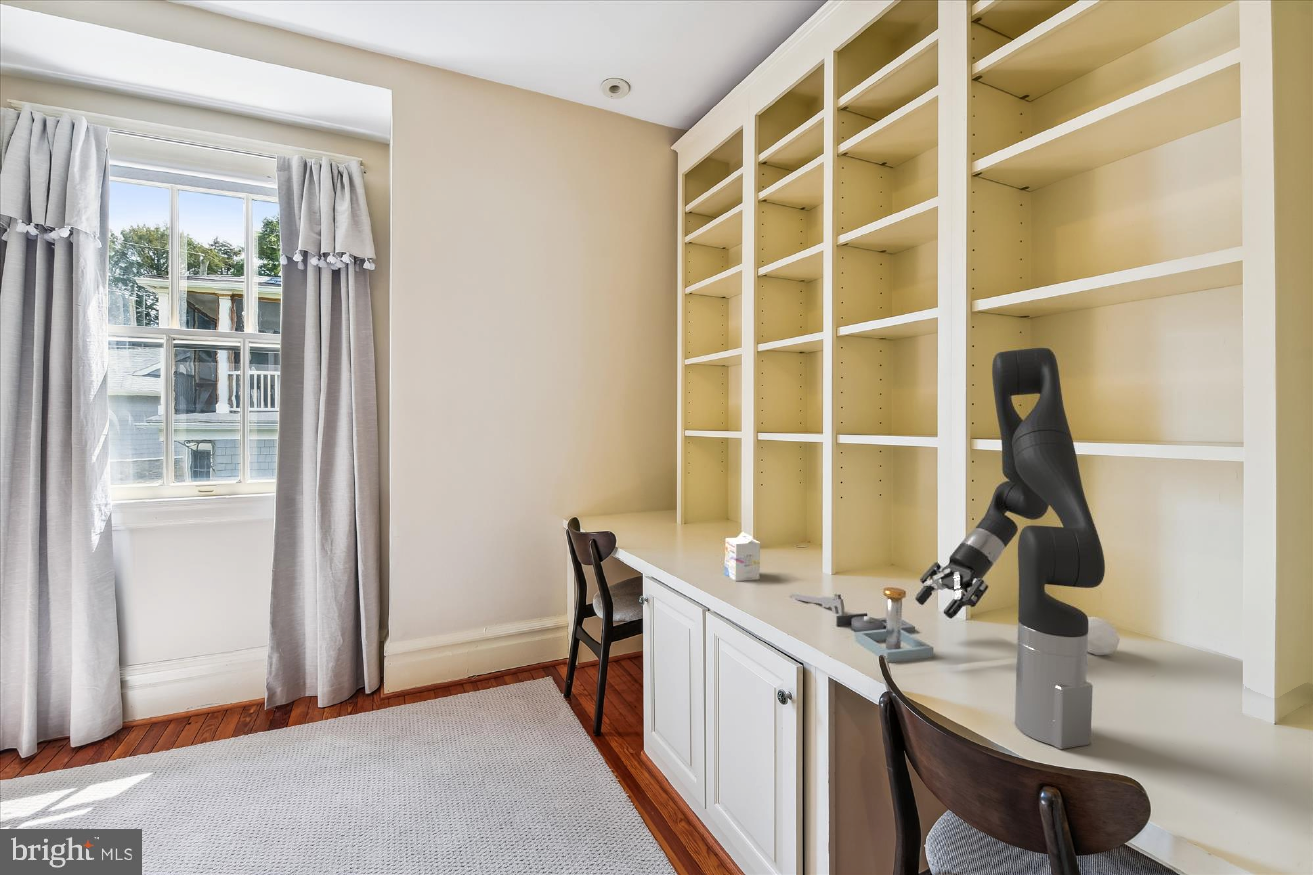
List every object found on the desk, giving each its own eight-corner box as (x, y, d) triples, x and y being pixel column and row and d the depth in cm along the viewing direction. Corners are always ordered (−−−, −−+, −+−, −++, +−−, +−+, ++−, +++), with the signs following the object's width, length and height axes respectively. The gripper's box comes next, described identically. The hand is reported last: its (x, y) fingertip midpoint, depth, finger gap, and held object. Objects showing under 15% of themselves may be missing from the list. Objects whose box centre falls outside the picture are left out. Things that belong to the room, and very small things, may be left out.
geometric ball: (1103, 669, 120) (1110, 648, 116) (1063, 644, 126) (1068, 623, 122) (1123, 648, 123) (1131, 626, 118) (1083, 624, 129) (1089, 602, 124)
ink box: (723, 574, 181) (724, 532, 181) (747, 572, 184) (748, 531, 183) (735, 581, 173) (736, 538, 172) (760, 579, 175) (760, 536, 175)
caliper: (844, 620, 141) (844, 595, 141) (841, 621, 141) (841, 596, 141) (791, 596, 160) (791, 574, 160) (788, 597, 159) (788, 575, 159)
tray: (933, 661, 117) (933, 647, 117) (886, 667, 115) (887, 652, 115) (898, 640, 128) (898, 627, 128) (855, 645, 125) (855, 632, 125)
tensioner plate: (919, 637, 130) (919, 620, 130) (857, 644, 126) (858, 626, 126) (893, 623, 139) (894, 607, 139) (835, 629, 135) (835, 612, 135)
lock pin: (908, 653, 120) (910, 592, 119) (890, 655, 119) (892, 594, 118) (895, 645, 124) (896, 586, 124) (877, 647, 123) (879, 588, 122)
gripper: (943, 535, 132) (900, 587, 130) (994, 550, 118) (946, 609, 116) (961, 556, 134) (919, 608, 131) (1013, 573, 120) (967, 631, 118)
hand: (932, 608), depth 124 cm, fingers open, 8 cm apart
